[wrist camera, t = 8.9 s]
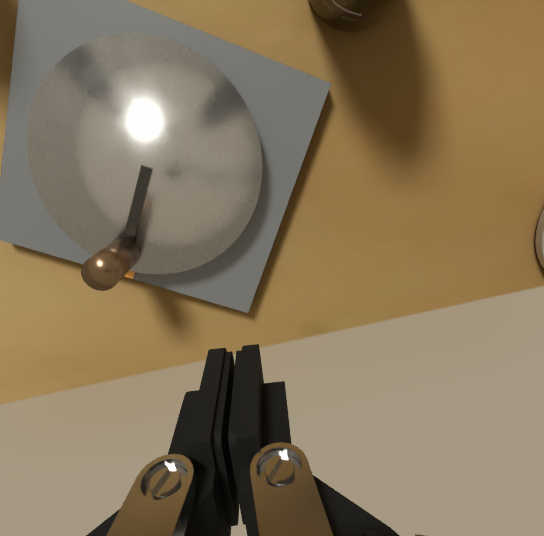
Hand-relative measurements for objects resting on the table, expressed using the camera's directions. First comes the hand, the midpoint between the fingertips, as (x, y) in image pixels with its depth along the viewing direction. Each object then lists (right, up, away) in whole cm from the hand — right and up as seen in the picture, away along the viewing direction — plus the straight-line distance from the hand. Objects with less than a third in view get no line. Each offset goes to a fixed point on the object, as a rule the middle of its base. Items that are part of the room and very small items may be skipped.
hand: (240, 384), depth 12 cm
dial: (-8, +12, +16) cm, 22 cm away
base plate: (-8, +13, +18) cm, 23 cm away
